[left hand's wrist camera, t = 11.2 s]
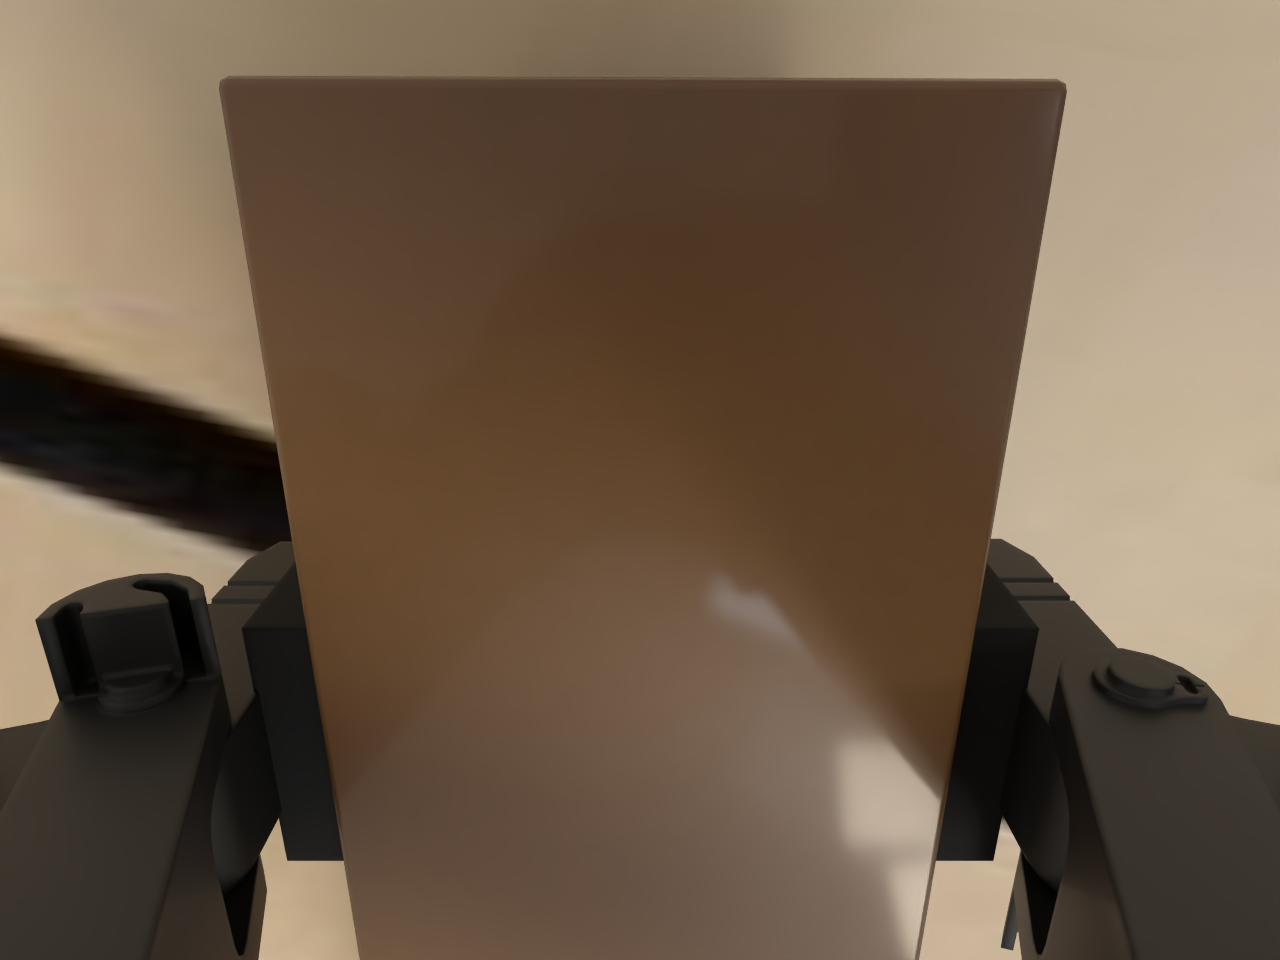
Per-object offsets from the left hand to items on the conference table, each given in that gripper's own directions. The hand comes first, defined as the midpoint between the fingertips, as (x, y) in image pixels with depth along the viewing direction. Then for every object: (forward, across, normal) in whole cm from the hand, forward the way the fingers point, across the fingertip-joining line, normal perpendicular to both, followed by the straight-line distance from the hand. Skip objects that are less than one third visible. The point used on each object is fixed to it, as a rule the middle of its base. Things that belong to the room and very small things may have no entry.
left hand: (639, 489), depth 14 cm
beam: (+1, 0, -28) cm, 28 cm away
